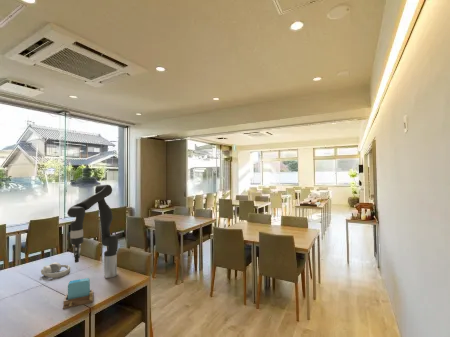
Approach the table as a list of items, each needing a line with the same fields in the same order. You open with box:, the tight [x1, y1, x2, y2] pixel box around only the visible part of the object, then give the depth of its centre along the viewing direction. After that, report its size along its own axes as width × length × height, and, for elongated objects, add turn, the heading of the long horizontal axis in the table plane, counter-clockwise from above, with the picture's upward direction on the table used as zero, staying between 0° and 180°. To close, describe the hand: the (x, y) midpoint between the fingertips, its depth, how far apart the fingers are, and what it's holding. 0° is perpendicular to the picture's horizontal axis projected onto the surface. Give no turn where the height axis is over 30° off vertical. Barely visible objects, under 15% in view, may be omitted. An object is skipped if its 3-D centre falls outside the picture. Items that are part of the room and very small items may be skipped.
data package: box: [67, 277, 91, 300], centre depth 157 cm, size 12×4×12 cm, turn 114°
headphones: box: [40, 262, 71, 279], centre depth 198 cm, size 18×8×20 cm
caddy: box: [62, 289, 94, 310], centre depth 156 cm, size 14×16×6 cm
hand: (77, 260), depth 160 cm, fingers open, 8 cm apart
